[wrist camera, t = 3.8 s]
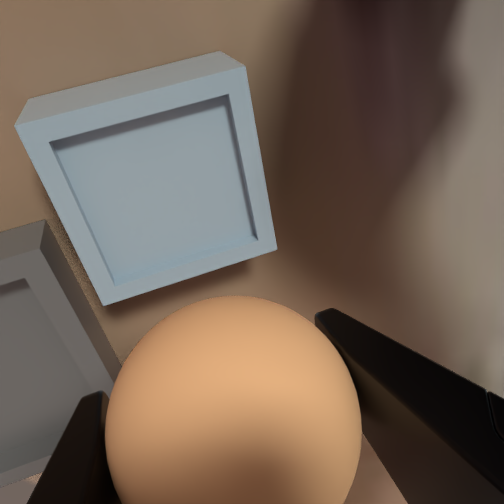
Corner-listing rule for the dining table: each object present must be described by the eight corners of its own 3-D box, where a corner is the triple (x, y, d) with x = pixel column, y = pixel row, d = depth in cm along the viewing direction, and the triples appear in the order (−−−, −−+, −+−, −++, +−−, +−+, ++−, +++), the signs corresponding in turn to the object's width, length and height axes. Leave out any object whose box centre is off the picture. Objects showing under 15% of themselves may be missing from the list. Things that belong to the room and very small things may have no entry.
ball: (288, 222, 9) (424, 391, 5) (311, 369, 11) (413, 551, 8) (66, 294, 8) (46, 543, 5) (142, 433, 11) (167, 665, 7)
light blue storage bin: (220, 50, 17) (245, 65, 14) (252, 212, 21) (277, 249, 18) (28, 98, 16) (13, 125, 13) (102, 259, 20) (103, 306, 17)
